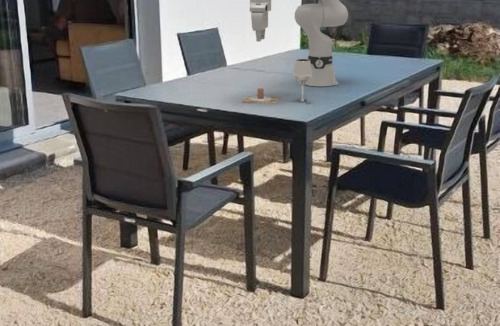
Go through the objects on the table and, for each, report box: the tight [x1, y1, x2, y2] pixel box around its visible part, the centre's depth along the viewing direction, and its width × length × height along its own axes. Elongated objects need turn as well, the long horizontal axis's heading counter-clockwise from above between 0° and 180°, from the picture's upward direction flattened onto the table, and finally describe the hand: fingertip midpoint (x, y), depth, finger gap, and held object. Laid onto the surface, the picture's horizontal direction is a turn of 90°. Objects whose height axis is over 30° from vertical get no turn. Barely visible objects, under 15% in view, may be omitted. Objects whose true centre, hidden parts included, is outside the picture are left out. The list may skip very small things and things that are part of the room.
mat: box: [241, 96, 280, 105], centre depth 277 cm, size 14×14×1 cm
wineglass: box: [292, 58, 313, 104], centre depth 273 cm, size 8×8×18 cm
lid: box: [249, 87, 272, 102], centre depth 276 cm, size 10×10×5 cm
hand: (260, 40), depth 270 cm, fingers open, 8 cm apart
